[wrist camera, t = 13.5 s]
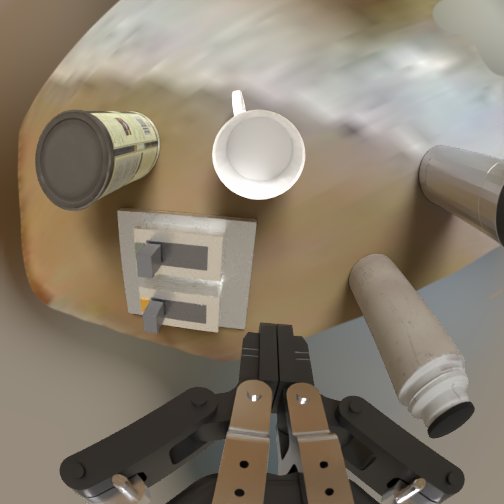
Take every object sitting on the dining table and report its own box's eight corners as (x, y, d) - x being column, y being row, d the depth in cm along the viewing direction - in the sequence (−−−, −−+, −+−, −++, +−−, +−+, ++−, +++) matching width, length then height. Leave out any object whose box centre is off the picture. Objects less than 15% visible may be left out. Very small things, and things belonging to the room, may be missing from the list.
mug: (299, 177, 36) (310, 193, 28) (231, 187, 37) (221, 205, 29) (285, 89, 32) (292, 75, 23) (215, 100, 33) (199, 91, 24)
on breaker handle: (160, 244, 36) (151, 256, 32) (161, 265, 37) (152, 278, 34) (146, 243, 36) (135, 254, 32) (147, 263, 37) (137, 276, 34)
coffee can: (88, 164, 36) (26, 186, 23) (115, 101, 32) (52, 97, 20) (142, 194, 38) (90, 228, 25) (173, 129, 34) (126, 132, 21)
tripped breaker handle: (163, 302, 39) (155, 317, 36) (164, 318, 41) (157, 333, 37) (150, 300, 39) (142, 314, 36) (152, 316, 41) (144, 331, 37)
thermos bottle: (384, 299, 44) (456, 440, 18) (342, 295, 44) (398, 454, 18) (401, 257, 41) (502, 390, 15) (357, 249, 40) (448, 404, 15)
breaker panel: (256, 219, 39) (256, 231, 35) (245, 323, 46) (243, 342, 42) (121, 207, 39) (106, 217, 35) (131, 307, 46) (121, 323, 42)
